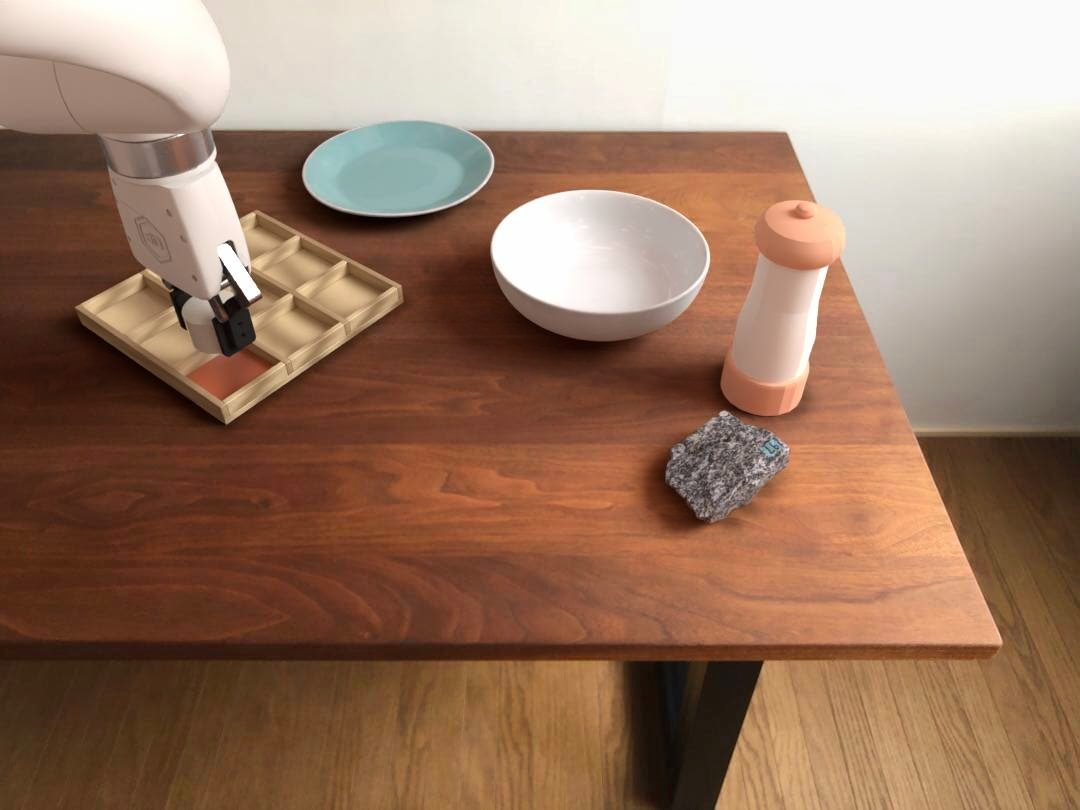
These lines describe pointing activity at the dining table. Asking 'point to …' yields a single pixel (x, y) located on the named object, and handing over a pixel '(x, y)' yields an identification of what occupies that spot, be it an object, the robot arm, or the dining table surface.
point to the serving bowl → (599, 263)
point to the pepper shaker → (781, 307)
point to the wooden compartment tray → (278, 318)
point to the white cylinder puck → (202, 323)
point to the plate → (398, 168)
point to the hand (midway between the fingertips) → (218, 332)
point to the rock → (724, 465)
